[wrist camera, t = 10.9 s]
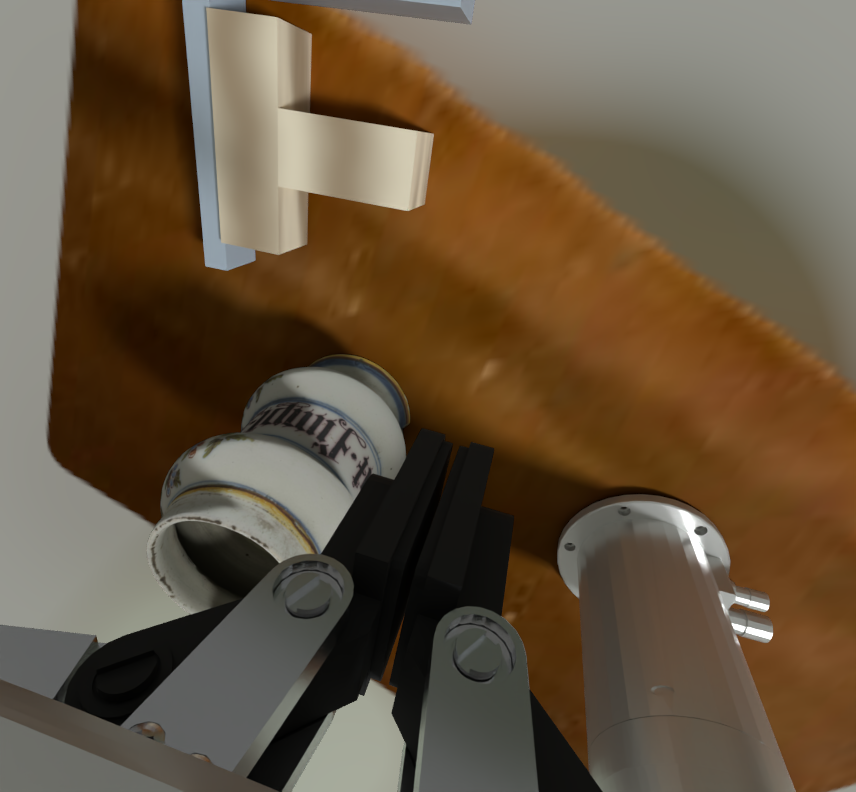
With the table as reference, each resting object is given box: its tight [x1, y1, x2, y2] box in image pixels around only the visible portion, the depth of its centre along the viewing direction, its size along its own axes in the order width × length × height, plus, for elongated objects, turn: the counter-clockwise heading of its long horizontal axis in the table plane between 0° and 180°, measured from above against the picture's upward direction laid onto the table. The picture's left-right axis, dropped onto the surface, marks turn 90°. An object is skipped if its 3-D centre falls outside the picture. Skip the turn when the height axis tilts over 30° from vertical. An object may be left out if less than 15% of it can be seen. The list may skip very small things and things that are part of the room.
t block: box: [206, 7, 434, 255], centre depth 29 cm, size 12×12×4 cm
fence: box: [182, 0, 475, 271], centre depth 29 cm, size 15×17×4 cm
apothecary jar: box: [147, 354, 410, 615], centre depth 31 cm, size 12×12×18 cm
